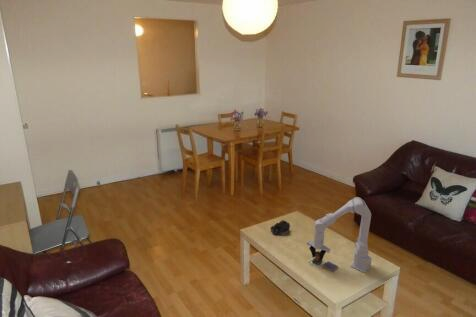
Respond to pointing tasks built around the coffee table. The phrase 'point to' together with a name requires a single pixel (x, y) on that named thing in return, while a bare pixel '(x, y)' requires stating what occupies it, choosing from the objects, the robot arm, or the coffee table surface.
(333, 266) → the ink pad
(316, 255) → the stamp
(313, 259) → the sheet
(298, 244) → the coffee table surface
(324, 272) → the coffee table surface
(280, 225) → the crystal cluster
